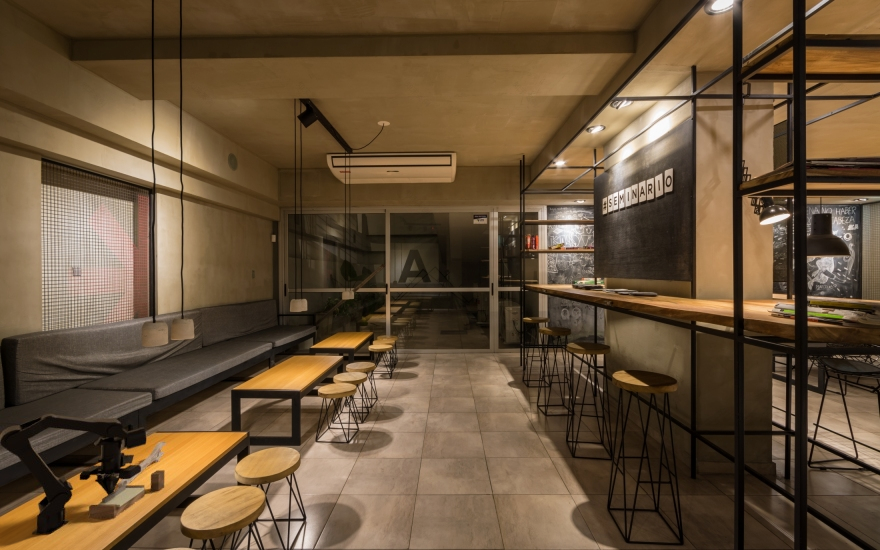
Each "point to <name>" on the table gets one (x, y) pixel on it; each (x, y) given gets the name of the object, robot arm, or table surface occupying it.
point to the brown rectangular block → (157, 480)
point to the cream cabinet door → (121, 496)
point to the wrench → (146, 462)
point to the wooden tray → (113, 506)
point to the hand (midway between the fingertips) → (110, 494)
